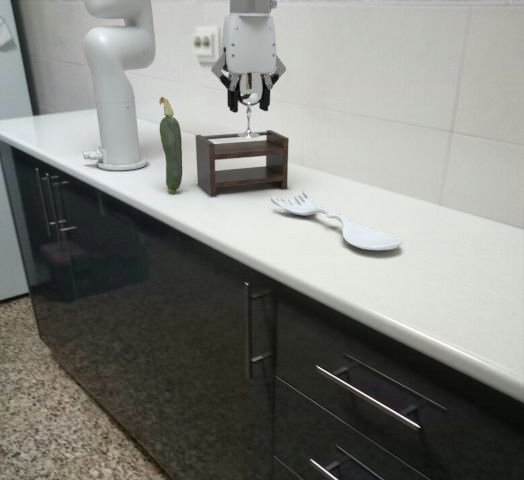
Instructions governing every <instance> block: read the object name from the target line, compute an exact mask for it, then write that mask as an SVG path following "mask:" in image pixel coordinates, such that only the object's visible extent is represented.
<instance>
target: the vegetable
mask: <svg viewBox="0 0 524 480" xmlns="http://www.w3.org/2000/svg"><path fill="white" fill-rule="evenodd" d="M158 103H159V105H160V106H161V105H162V104H163V112H164V114H163V115H164V117H163V118H162V119H161V121H160V123H159V136H160V141H161V146H162V150H163V153H164V157H165V184H166V187H167V188H166V189H167V190H168V192H169V193H170V194H175V193H177V191H178V190H179V189H180V187H181V184H182V181H183V180H182V179H183V147H182V146H183V145H182V142H183V141H182V132H181V126H180V123H179V121H178V120H177V119H176V118H175V117H174V114H175V113H174V109H173V107H172V105H171V103H170V101H169V100H168V99H167V98H166V97H165V96H161V97H160V98H159V101H158Z"/></svg>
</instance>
